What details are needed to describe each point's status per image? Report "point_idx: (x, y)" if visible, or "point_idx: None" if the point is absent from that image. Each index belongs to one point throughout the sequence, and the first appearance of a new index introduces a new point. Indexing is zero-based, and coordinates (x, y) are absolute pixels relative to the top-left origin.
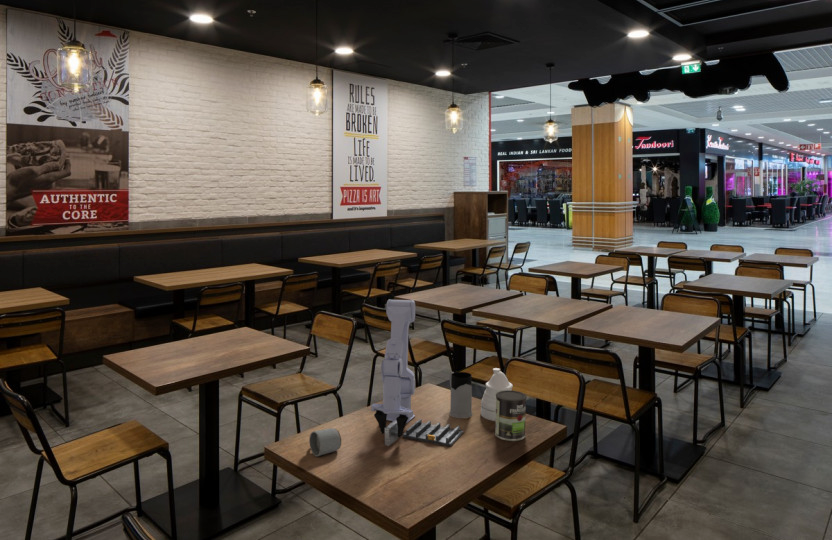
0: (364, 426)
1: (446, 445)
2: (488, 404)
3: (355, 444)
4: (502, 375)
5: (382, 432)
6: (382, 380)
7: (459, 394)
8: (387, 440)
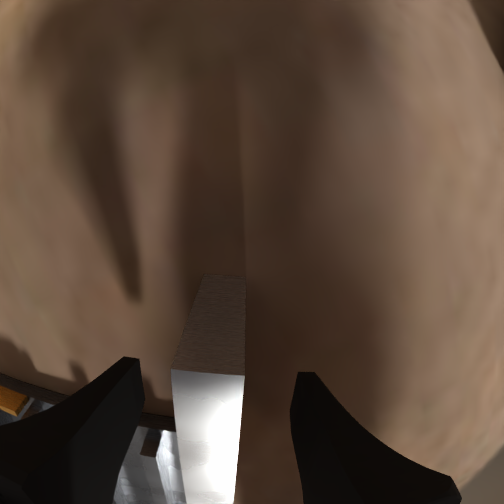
0: (442, 434)
1: None
2: None
3: (461, 209)
4: None
5: (303, 378)
6: None
7: None
8: (216, 295)
